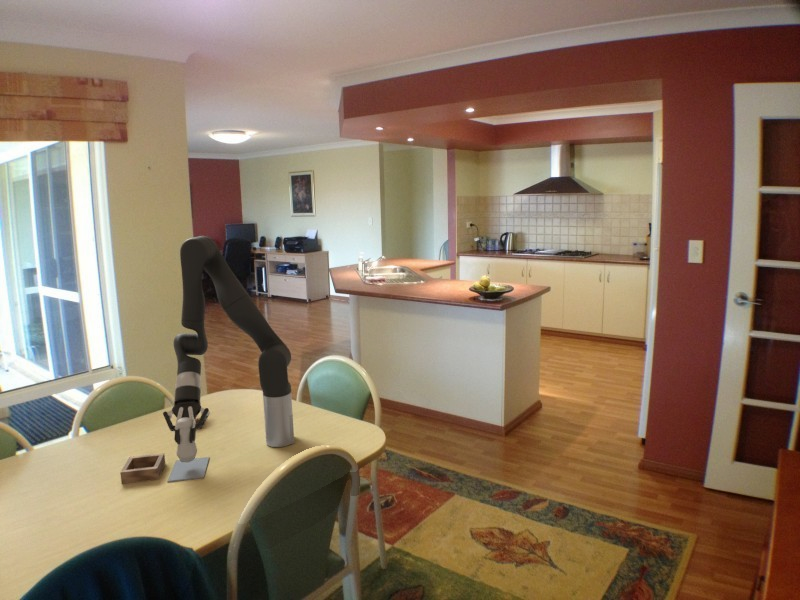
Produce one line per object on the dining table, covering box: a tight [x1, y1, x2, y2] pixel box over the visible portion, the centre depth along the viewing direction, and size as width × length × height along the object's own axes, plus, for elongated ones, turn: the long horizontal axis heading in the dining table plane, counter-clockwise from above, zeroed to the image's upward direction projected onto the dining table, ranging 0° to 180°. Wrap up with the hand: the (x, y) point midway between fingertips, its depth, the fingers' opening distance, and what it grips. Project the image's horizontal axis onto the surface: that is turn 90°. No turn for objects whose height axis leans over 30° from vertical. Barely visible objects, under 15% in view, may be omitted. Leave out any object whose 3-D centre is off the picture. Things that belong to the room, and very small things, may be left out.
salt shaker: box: [176, 417, 198, 463], centre depth 164 cm, size 6×6×13 cm
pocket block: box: [119, 452, 166, 484], centre depth 163 cm, size 10×10×4 cm
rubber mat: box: [167, 456, 210, 483], centre depth 165 cm, size 10×13×1 cm
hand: (184, 442), depth 162 cm, fingers closed on salt shaker, 3 cm apart
